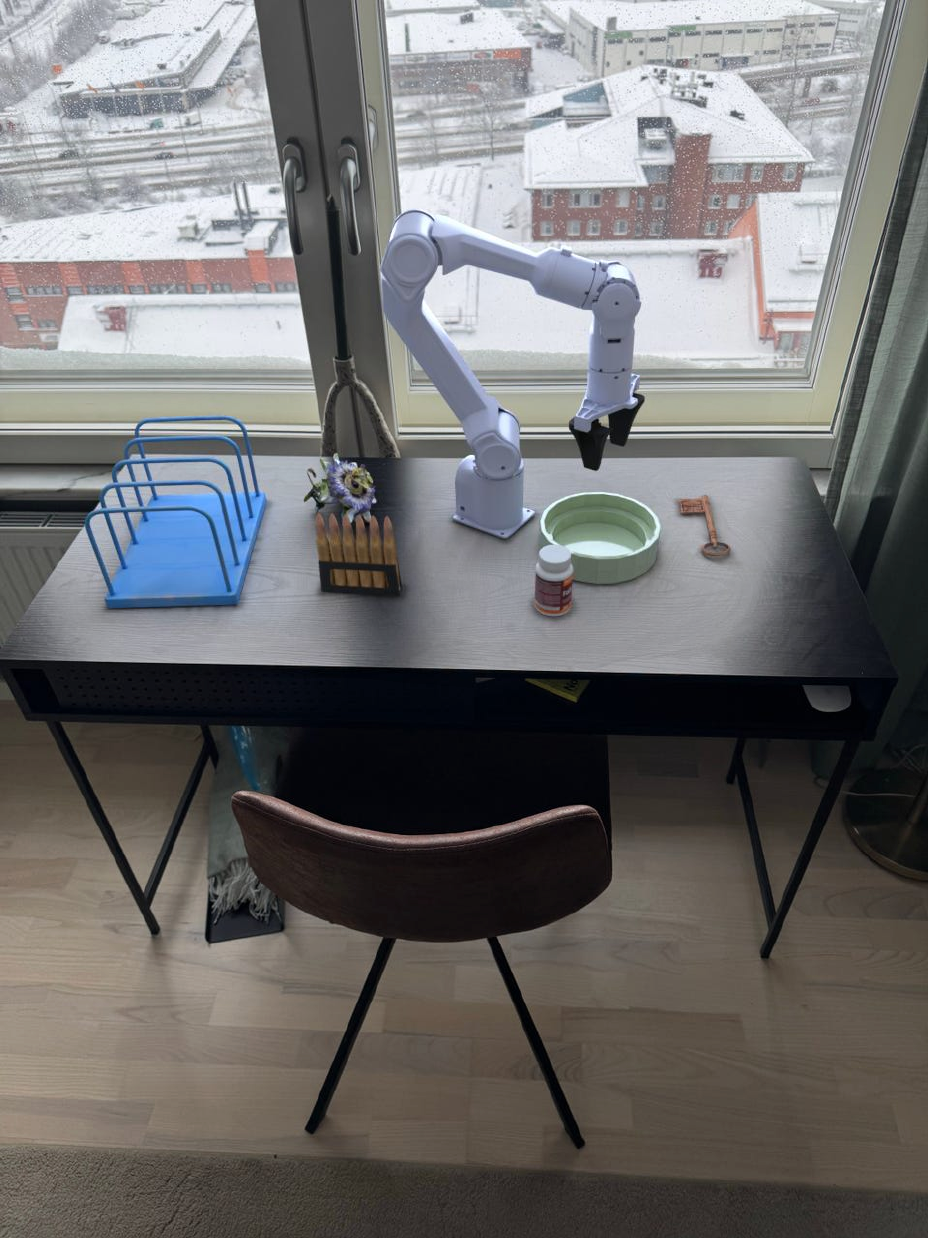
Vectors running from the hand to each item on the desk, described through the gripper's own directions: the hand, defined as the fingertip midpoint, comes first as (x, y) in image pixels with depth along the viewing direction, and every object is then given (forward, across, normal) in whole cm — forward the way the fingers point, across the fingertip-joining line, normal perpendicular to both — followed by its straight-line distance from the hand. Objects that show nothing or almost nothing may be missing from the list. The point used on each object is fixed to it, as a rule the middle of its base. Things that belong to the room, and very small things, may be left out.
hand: (604, 455), depth 129 cm
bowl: (+10, -7, -4) cm, 13 cm away
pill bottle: (+10, -21, -5) cm, 24 cm away
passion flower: (+10, -20, +32) cm, 40 cm away
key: (+11, +6, -13) cm, 18 cm away
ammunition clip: (+10, -32, +18) cm, 39 cm away
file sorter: (+10, -39, +44) cm, 60 cm away
